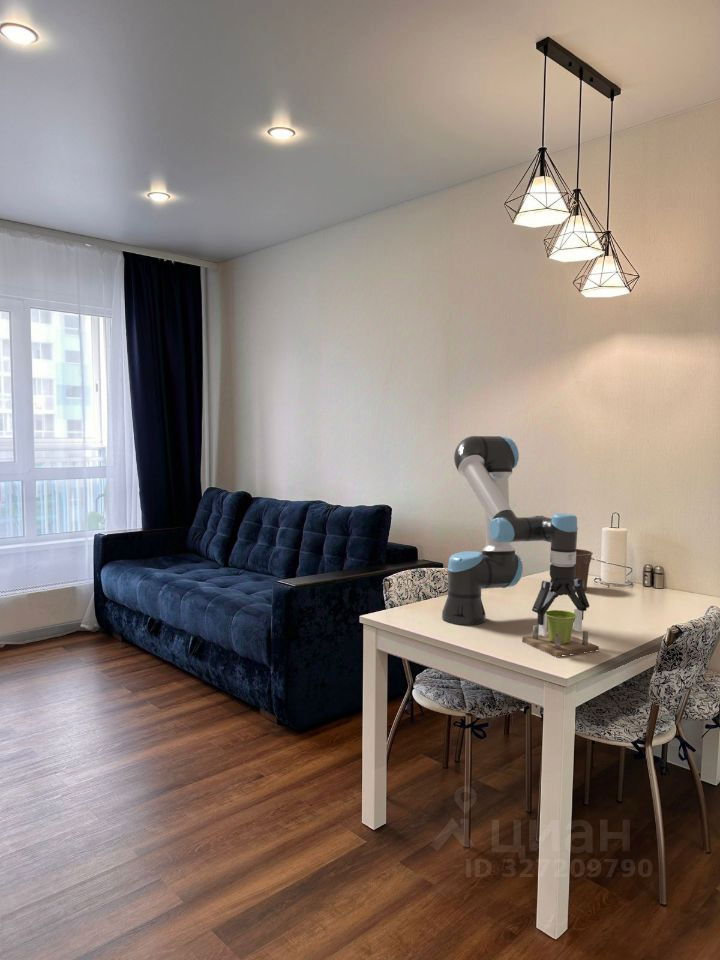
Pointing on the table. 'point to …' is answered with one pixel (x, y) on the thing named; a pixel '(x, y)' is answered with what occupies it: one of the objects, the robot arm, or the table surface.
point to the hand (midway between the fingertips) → (560, 633)
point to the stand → (559, 644)
